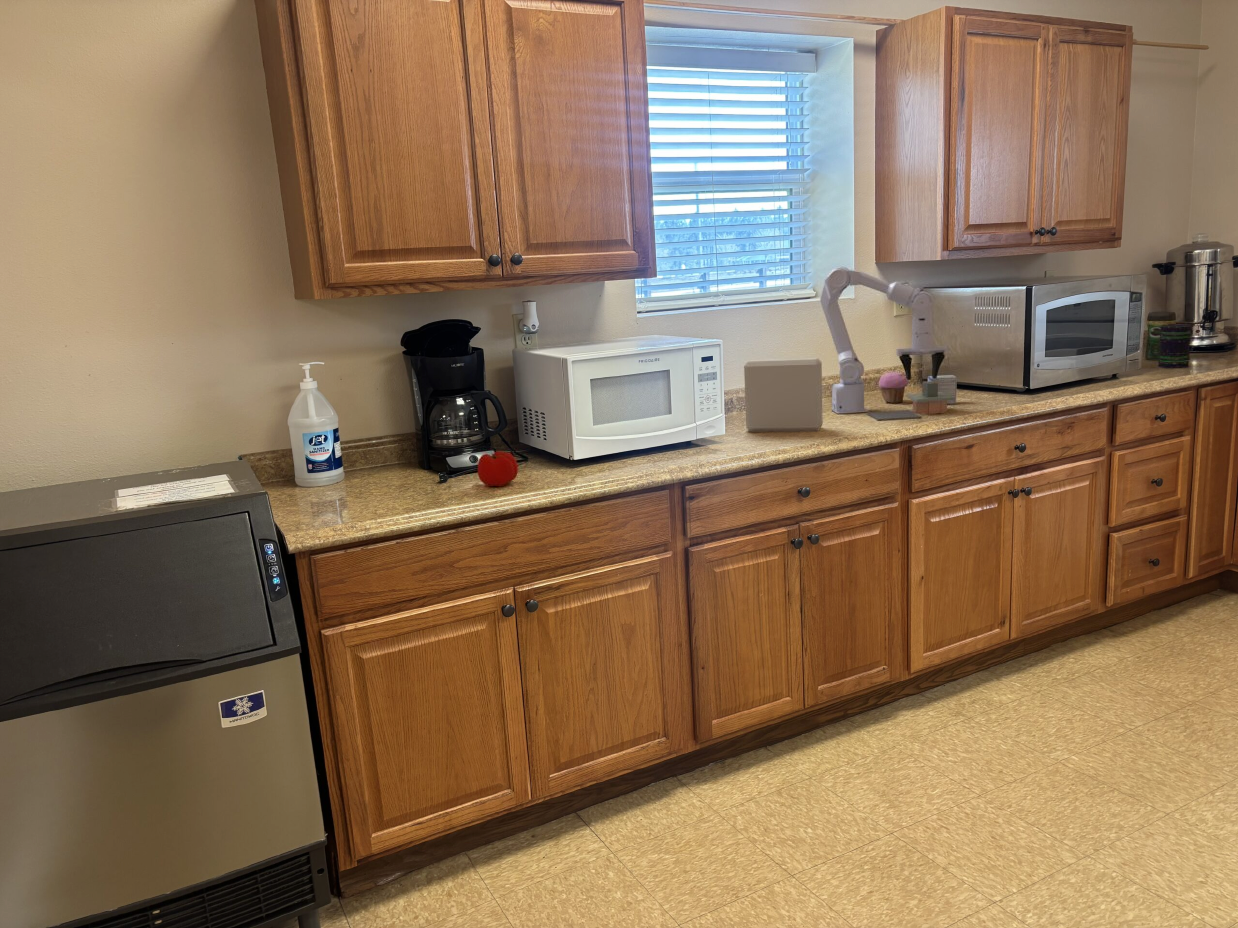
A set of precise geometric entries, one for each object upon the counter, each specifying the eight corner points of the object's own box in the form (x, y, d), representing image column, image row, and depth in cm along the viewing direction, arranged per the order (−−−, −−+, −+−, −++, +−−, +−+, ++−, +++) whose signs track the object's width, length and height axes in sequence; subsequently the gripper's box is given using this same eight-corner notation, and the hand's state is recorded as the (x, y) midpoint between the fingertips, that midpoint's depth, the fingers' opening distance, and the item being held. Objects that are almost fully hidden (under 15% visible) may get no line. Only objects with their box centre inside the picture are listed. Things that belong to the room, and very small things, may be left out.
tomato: (479, 490, 206) (476, 459, 205) (479, 482, 215) (476, 451, 213) (520, 486, 208) (517, 455, 206) (518, 478, 216) (515, 448, 215)
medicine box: (952, 402, 284) (953, 374, 282) (956, 404, 280) (957, 376, 278) (927, 403, 285) (927, 376, 283) (930, 405, 281) (930, 377, 279)
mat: (877, 420, 260) (877, 419, 260) (866, 414, 273) (866, 412, 272) (921, 418, 260) (920, 416, 260) (908, 411, 272) (908, 410, 272)
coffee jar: (1177, 358, 349) (1180, 310, 346) (1167, 361, 345) (1170, 312, 341) (1151, 357, 357) (1153, 310, 353) (1141, 360, 353) (1143, 312, 349)
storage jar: (1163, 364, 336) (1166, 324, 333) (1193, 365, 328) (1196, 324, 325) (1153, 367, 330) (1155, 326, 326) (1182, 369, 322) (1185, 327, 319)
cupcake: (913, 402, 288) (913, 371, 286) (892, 405, 285) (892, 374, 283) (893, 399, 296) (893, 369, 294) (872, 402, 293) (872, 372, 291)
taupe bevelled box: (823, 426, 257) (822, 356, 253) (821, 431, 250) (819, 359, 245) (749, 427, 263) (747, 359, 259) (745, 432, 256) (743, 362, 252)
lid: (917, 402, 264) (917, 385, 263) (905, 397, 275) (905, 381, 274) (954, 399, 263) (955, 383, 262) (942, 394, 274) (942, 379, 273)
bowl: (919, 414, 266) (919, 401, 265) (910, 410, 274) (910, 397, 274) (949, 412, 265) (950, 399, 265) (939, 408, 274) (939, 395, 273)
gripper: (901, 335, 263) (901, 381, 266) (951, 332, 263) (950, 379, 266) (894, 333, 270) (894, 378, 273) (943, 331, 270) (942, 376, 273)
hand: (921, 378), depth 270 cm, fingers open, 7 cm apart
